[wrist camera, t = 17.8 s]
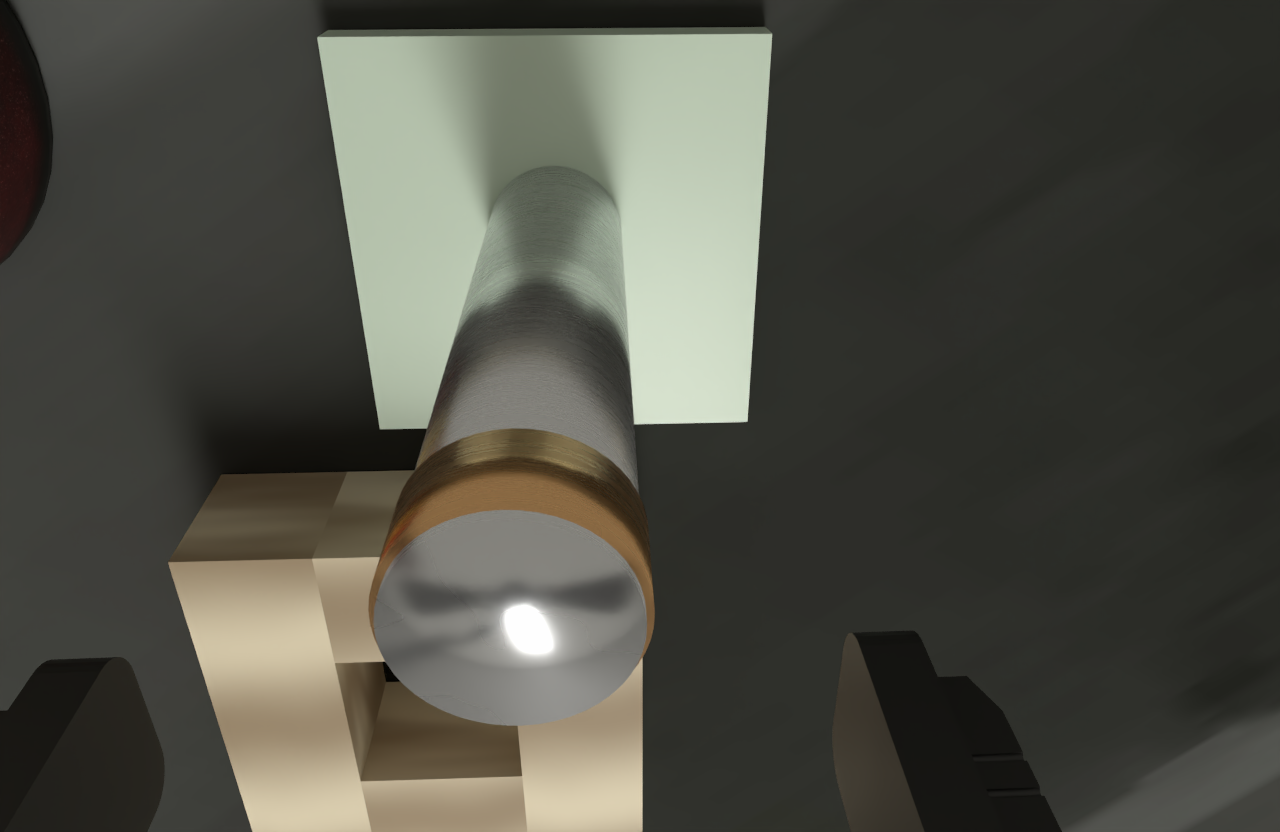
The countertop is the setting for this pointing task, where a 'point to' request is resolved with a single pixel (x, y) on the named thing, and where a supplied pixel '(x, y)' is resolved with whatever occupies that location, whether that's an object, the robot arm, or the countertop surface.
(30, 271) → the countertop surface
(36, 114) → the vase
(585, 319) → the flashlight
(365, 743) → the block
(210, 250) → the countertop surface
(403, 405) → the pad
